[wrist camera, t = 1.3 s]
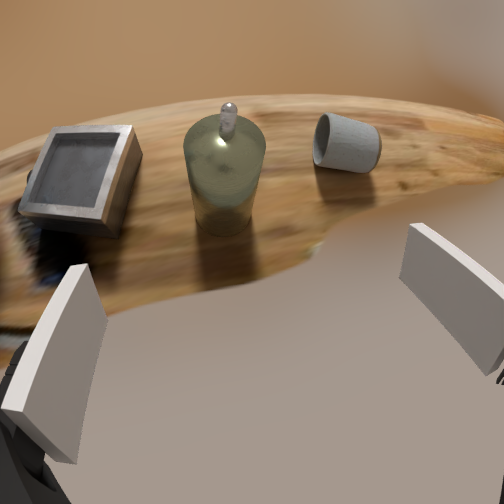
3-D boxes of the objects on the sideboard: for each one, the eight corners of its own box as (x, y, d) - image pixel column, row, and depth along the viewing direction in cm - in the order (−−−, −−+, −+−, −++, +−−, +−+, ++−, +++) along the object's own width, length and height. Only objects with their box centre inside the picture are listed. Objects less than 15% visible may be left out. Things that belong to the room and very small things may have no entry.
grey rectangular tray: (27, 227, 35) (3, 209, 28) (54, 152, 38) (37, 128, 32) (118, 239, 36) (100, 219, 29) (142, 154, 39) (132, 125, 33)
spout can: (247, 240, 37) (266, 166, 21) (190, 233, 37) (171, 155, 21) (253, 189, 39) (272, 100, 24) (200, 183, 39) (191, 91, 23)
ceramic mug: (366, 184, 41) (390, 154, 34) (313, 176, 41) (330, 143, 33) (357, 129, 45) (374, 98, 37) (309, 120, 44) (322, 86, 37)
